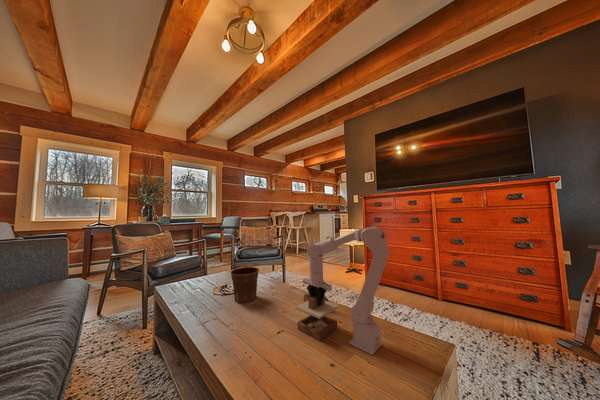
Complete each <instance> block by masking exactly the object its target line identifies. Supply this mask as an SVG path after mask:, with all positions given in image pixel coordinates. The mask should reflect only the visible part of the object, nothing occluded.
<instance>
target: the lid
mask: <svg viewBox="0 0 600 400" xmlns="http://www.w3.org/2000/svg"><path fill="white" fill-rule="evenodd" d="M325 297H326V293H325V294H324V297H323V301H322V305H320V306H318V304H317V296H316V295H315V296H313V297H311V298H309V300H308V301H306V302H304V301H303V303H300V304H298V305H296V306H295V309H296V310H298V311H300V312H302V313H305V314H307V315H308V316H310V315H311V316H314V317H316V318H318V319H320V318H322V317H323V316H327V315H329V314H330V313H332V312H334V311H335V310H337V309H339V305H338V304H335V303H333V302H330V301H328V302H327V300H326V301H325Z"/></svg>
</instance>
